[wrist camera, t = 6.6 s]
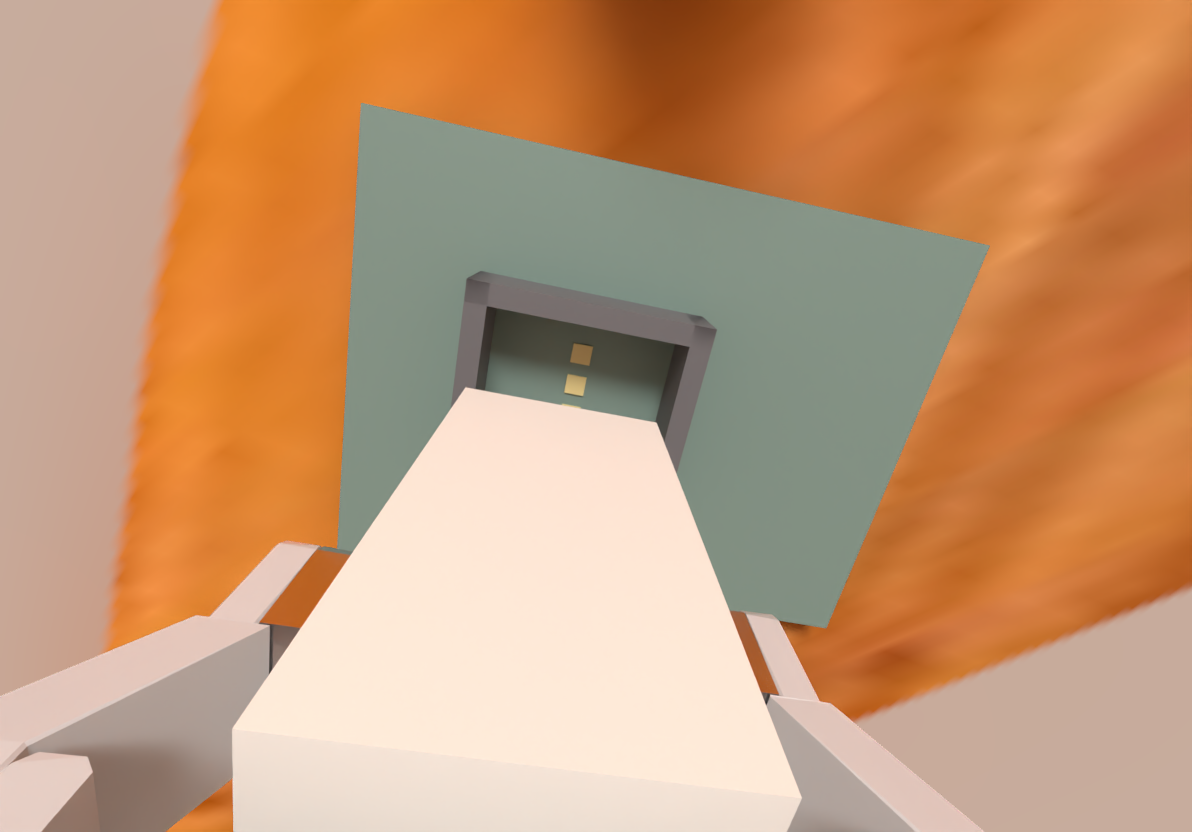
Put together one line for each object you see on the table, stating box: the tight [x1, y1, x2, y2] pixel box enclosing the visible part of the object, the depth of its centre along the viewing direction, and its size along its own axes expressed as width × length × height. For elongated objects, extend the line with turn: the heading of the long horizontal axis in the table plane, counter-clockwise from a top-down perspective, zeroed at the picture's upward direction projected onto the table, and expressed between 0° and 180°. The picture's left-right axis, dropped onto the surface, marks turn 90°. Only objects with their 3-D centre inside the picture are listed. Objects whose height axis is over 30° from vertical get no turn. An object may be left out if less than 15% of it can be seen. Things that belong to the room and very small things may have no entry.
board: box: [337, 103, 990, 628], centre depth 17 cm, size 18×14×3 cm
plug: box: [232, 387, 802, 832], centre depth 8 cm, size 4×4×8 cm
